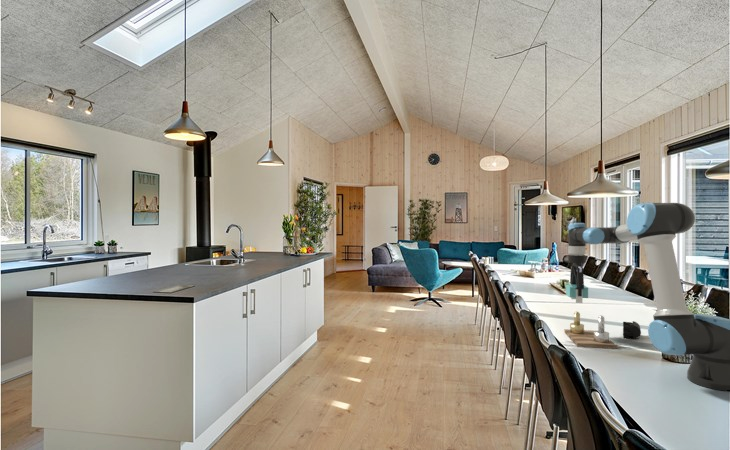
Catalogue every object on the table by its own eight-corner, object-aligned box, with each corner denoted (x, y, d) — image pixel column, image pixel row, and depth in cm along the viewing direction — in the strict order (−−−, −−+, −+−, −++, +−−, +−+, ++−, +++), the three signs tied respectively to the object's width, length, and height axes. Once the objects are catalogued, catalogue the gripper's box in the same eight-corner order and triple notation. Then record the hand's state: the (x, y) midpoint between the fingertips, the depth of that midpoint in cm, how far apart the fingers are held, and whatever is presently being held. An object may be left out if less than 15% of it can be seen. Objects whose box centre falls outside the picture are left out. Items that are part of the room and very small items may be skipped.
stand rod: (611, 343, 186) (610, 317, 186) (596, 342, 188) (596, 316, 187) (606, 339, 192) (606, 314, 192) (592, 338, 193) (592, 313, 193)
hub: (585, 334, 201) (585, 313, 200) (571, 334, 202) (571, 312, 202) (581, 331, 206) (581, 310, 206) (568, 330, 208) (568, 310, 208)
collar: (588, 298, 199) (588, 287, 199) (569, 297, 201) (569, 287, 201) (583, 294, 207) (583, 284, 207) (565, 294, 209) (565, 284, 209)
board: (616, 348, 184) (616, 345, 184) (577, 346, 187) (577, 343, 187) (599, 333, 207) (599, 330, 207) (564, 332, 211) (564, 329, 211)
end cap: (641, 340, 195) (641, 326, 195) (623, 338, 199) (623, 324, 199) (640, 335, 204) (640, 321, 204) (623, 333, 208) (623, 320, 207)
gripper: (591, 256, 193) (591, 305, 193) (579, 252, 213) (579, 297, 213) (574, 256, 194) (573, 305, 195) (563, 252, 215) (563, 296, 215)
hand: (576, 300), depth 204 cm, fingers closed on collar, 8 cm apart
